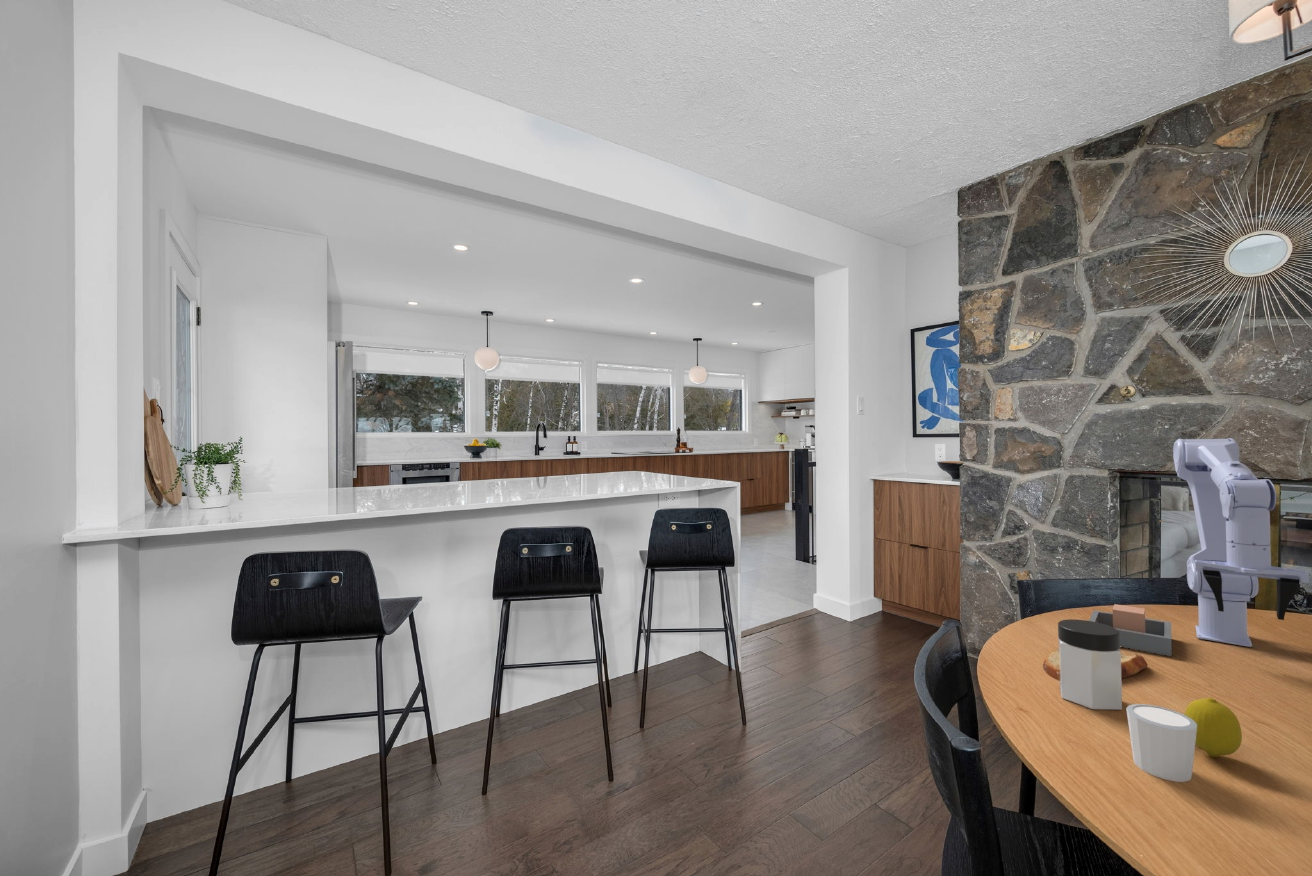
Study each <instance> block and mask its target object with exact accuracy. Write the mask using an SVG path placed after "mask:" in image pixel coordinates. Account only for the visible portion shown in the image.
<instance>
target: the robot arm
mask: <svg viewBox="0 0 1312 876" xmlns="http://www.w3.org/2000/svg"><path fill="white" fill-rule="evenodd" d="M1172 449H1173V450H1172V455H1173V463H1174V467H1175V468H1174V469H1175V472H1176V474H1177V475H1176V476H1177V478H1180V479H1182V480H1183V481H1186V482H1187V484H1188V487H1189V490H1190V494H1191V499H1192V504H1193V509H1194V515H1195V520H1196V526H1197V531H1198V536H1199V538H1198V539H1199V542H1200V548H1201V549H1200V550H1199V551H1198V552H1195V553H1194V554H1192V555H1189V557H1188V559H1187V561H1186V567H1187V568H1186V569H1187V570H1186V578H1187V579H1186V580H1187V584H1188V585H1187V586H1188V588H1189V589H1190V590H1191V591H1192V592H1193V593H1196V594H1197V602H1198V604H1197V605H1198V606H1197V607H1198V611H1197V612H1198V625H1195V634H1196V638H1197V639H1200V640H1206V641H1213V642H1218V643H1224V644H1225V643H1226V644H1230V645H1234V646H1235V645H1237V646H1242V647H1247V648H1252V647H1253V644H1252V641H1251V638H1250V636H1249V633H1248V608H1247V607H1248V606H1247V602H1251V599H1252V598H1254V597H1255V596H1257V595H1258V592H1259V589H1260V588H1259V587H1260V586H1259V585H1260V583H1259V578H1262V579H1263V578H1264V579H1274V580H1276V595H1277V596H1276V597H1277V601H1276V602H1277V603H1276V617H1277V620H1280V621H1284V620H1285V615H1286V612H1287V609H1288V607H1289V605H1290V603H1291V601H1292V599H1293V598H1294V596H1295V595H1296V594H1297V593H1298V591H1299V590H1300V588H1301V584H1302V583H1303V584H1309V583H1310V580H1309V579H1310V578H1309V576H1310V575H1309V572H1308V571H1307V570H1302V569H1295V568H1294V569H1292V568H1286V567H1278V566H1272V553H1271V552H1272V551H1271V516H1270V514H1271V513H1270V511H1273V510H1274V509H1275V507H1276V503H1277V493H1276V488H1275V485H1274V483H1273V482H1272V481H1271V479H1267V478H1264V479H1259V478H1257V476H1256V475H1255V474H1254V473H1253V472H1252V470H1251V469H1250V468H1249V467H1248V466H1247V465H1246V464H1244V463H1242V462H1240V461H1239V460H1240V459H1239V458H1240V447H1239V444H1238V442H1237V441H1236V440H1235V439H1234V438H1232V437H1231V438H1230V437H1228V438H1199V439H1198V438H1194V439H1193V438H1192V439H1188V438H1187V439H1183V438H1177V439H1176V440H1175V441H1174V443H1173V448H1172Z"/></svg>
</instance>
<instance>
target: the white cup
mask: <svg viewBox="0 0 1312 876" xmlns="http://www.w3.org/2000/svg"><path fill="white" fill-rule="evenodd" d="M1125 710H1126V717H1127V723H1128V730H1129V738H1130V743H1131V744H1130V746H1131V752H1132V759H1133V763H1134V764H1135V766H1136V767H1137V768H1139V769H1140V770H1141V771H1143V772H1145V773H1147V774H1149V775H1151V776H1154V777H1157V778H1159V779H1162V780H1166V781H1172V782H1179V783H1185V782H1188V781H1189V782H1190V781H1191V780H1192V778H1193V769H1194V757H1195V748H1196V745H1195V742H1196V732H1197V724H1196V723H1195V722H1194V720H1192V719H1191V718H1189V717H1187V716H1186V715H1184V714H1185V713H1184V714H1183V713H1181V712H1178V711H1175V710H1173V709H1169V708H1167V707H1162V706H1158V705H1152V704H1146V703H1133V704H1129V705H1128V706H1127V707H1126V709H1125Z"/></svg>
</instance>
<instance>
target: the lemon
mask: <svg viewBox="0 0 1312 876" xmlns="http://www.w3.org/2000/svg"><path fill="white" fill-rule="evenodd" d="M1184 715H1186V716H1187V717H1189V718H1191V719H1192V720H1194V722H1195V723H1196V724H1197V732H1196V742H1195V747H1196V746H1197V748H1199V749H1200V750H1202V751H1204V752H1206V754H1207V755H1209V756H1210V757H1212V758H1218V757H1220V756H1229V755H1232V754H1233V753H1236V752H1237V750H1239V748H1240V747H1241V744H1242V740H1243V739H1242V738H1243V736H1242V735H1243V734H1242V733H1243V732H1242V728H1241V724H1240V721H1239V719H1238V717H1237V716H1236V714H1235V713H1234V712H1233V711H1232V710H1231V708H1229V707H1228V706H1227V705H1226V704H1223V703H1222V702H1220V701H1217V699H1215V698H1214V697H1207V698H1199V699H1195V700H1193V701H1191V702H1190V703H1188V705H1187V707H1186V709H1185V711H1184Z"/></svg>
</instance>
